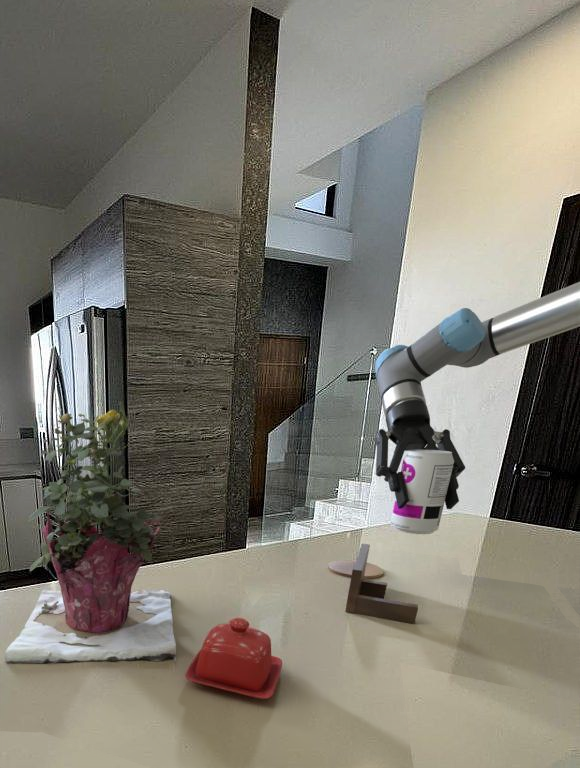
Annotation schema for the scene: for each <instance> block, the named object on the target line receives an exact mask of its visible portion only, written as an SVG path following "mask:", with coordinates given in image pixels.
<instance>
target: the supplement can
mask: <svg viewBox="0 0 580 768" xmlns="http://www.w3.org/2000/svg"><path fill="white" fill-rule="evenodd" d="M453 464H454V459H453V456H452V452H449V451H440V450H409V451H407V453H406V454H405V456H403V458H402V462H401V469H400V472H403V476H404V480H405V485H406V489H407V494H408V498H409V501H408V502H407V504H406V505H405V506H404V507H403V508H402V509H398V506H397V501H396V498H395V499H394V504H393V508H392V509H393V510H392V514H391V520H390V526H392V528H393V530H395V531H397V532H401V533H406V534H412V535H431V534H433V533H435V532H436V531H438V530H439V528H440V523H441V519H442V515H443V510H444V506H445V498H446V494H447V490H448V485H449V481H450V477H451V472H452V468H453Z"/></svg>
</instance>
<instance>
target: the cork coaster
mask: <svg viewBox="0 0 580 768" xmlns="http://www.w3.org/2000/svg"><path fill="white" fill-rule="evenodd" d="M355 561H356V559H355V560H354V559H338V560H333V561H331V562H329V563H328V566H327V569H328V570H329V571H330V572H332V573H334V574H336V575H339V576H342V577H346V578H351V576H352V570H353V567H354V564H355ZM383 574H384V570H383V568H381V567H380V566H378V565H376V564H374V563H370V562H367V564H366V569H365V575H364V579H366V580H372V579H377V578H380V577H381V576H382V577H383Z"/></svg>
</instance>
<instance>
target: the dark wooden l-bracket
mask: <svg viewBox="0 0 580 768" xmlns="http://www.w3.org/2000/svg"><path fill="white" fill-rule="evenodd" d="M370 548H371V544H368V543H361V546H360V548H359V551H358V553H357V556H356V559H355V564H354V567H353V570H352V576H351V577H350V582H349V587H348V592H347V593H348V594H347V599H346V605H345V611H344V612H345V613H348V614H349V613H351V614H358V615H363V616H370V617H374V618H375V617H376V618H379V619H385V620H391V621H395V622H402V623H407V624H412V625H414V624H415V623H416V619H417V615H418V610H419V604H417V603H410V602H404V601H398V600H394V599H393V600H392V599H388V598H387V599H386V598H385V596H386V593H387V587H388V582H385V581H378V580H372V579H364V575H365V569H366V564H367V563H368V559H369V552H370Z"/></svg>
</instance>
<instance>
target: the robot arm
mask: <svg viewBox="0 0 580 768" xmlns="http://www.w3.org/2000/svg"><path fill="white" fill-rule="evenodd" d="M579 327H580V281H578V282H575V283H573V284H571V285H568V286H565V287H564V288H561V289H558V290H556V291H554V292H551V293H548V294H546V295H544V296H542V297H539V298H537V299H534V300H531V301H529V302H527V303H524V304H522V305H520V306H516V307H515V308H512V309H510V310H508V311H505V312H502V313H500V314H498V315H495V316H494V317H491V318H487V319H486V320H483V321H482V320H480V317H478V314H476V313H475V312H474V311H473V310H472V309H470V308H468V307H462V308H460V309H458V310H457V311H455V312H454V313H453V314H451V315H449V316H447V317H445V318H444V319H442V321H441V322H440V323H438V324H437V325H436V326H434V327H433V328H431V330H429V331H428V332H426V333H425V334H424V335H422V336H421V337H420V338H418V339H417V340H416V341H415V342H413V343H412V344H410V345H404V344H397V345H396V344H395V345H394V346H393V347H389V348H387V349H385V350H384V351H382V352H381V353H380V354H379V356H378V357H377V359H376V361H375V363H374V370H375V381H376V383H377V386H378V390H379V391H378V392H379V394H380V399H381V404H382V409H383V413H384V417H385V423H386V428H387V431H386V429H384V428H381V429H379V430H378V432H377V433H376V435H375V436H374V438H373V440H374V443H375V445H376V456H375V457H376V458H375V475H376V477H379V478H380V477H384V478H383V480H384V482H388V488H389V491H390V492H392V493H394V496H395V499H396V501H397V506H398V509H402V508H403V507H404V506H405V505H406V504H407V502H408V501H409V498H408V494H407V489H406V485H405V480H404V476H403V472H401V471H399V469H400V464H402V461H403V458H404V454H405V452H409V450H440V451H449V452H452V456H453V459H454V464H453V468H452V472H451V477H450V481H449V485H448V490H447V494H446V498H445V502H444V505H445V507H446V510H452V509H453V508H454V507H455V506H456V505H457V504H458V503H459V502H460V499H459V495H458V492H457V491H458V489H459V486H460V484H459V482H458V477H459V476H460V475H461V474H462V473H463V472H464V471H465V469H466V466H465V463H464V462H463V460H462V458H461V456H460V454H459V452H458V451H457V448H456V447H455V445H454V443H453V440H452V439H451V431H450V430H449V429H445V428H444V429H443V431H435V429H434V428H433V427H432V426H431V415H430V413H429V408H428V405H427V400H426V397H425V394H424V389H423V386H422V382H423V381H424V380H426V379H427V378H429V377H431V376H433V375H434V374H435V373H437V372H438V371H440V370H441V369H443V368H444V367H446V366H455V367H460V368H464V369H465V368H466V369H467V368H472V367H478V366H481V365H483V364H484V363H486V362H487V361H489V360H490V359H493V358H495V357H498V356H500V355H503V354H505V353H508V352H511V351H514V350H516V349H520V348H522V347H525V346H528V345H531V344H533V343H536V342H539V341H542V340H544V339H548V338H551V337H554V336H556V335H559V334H562V333H565V332H568V331H571V330H573V329H577V328H579ZM389 440H390V441H391V442H392V443H393V444H394V445H395V449H394V450H393V454H392V459H391V460H390V463H389ZM388 463H389V464H388ZM388 465H389V466H388Z"/></svg>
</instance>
